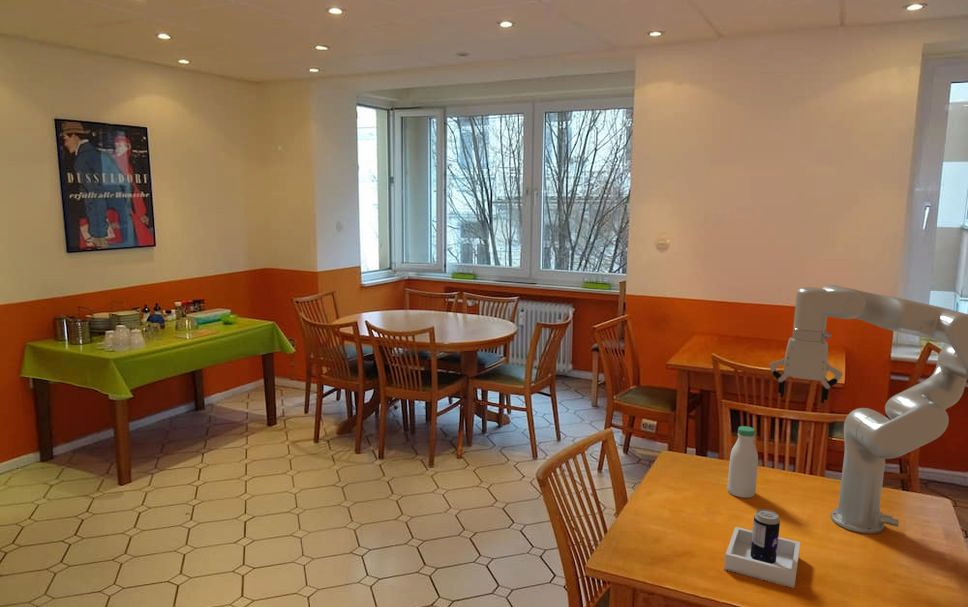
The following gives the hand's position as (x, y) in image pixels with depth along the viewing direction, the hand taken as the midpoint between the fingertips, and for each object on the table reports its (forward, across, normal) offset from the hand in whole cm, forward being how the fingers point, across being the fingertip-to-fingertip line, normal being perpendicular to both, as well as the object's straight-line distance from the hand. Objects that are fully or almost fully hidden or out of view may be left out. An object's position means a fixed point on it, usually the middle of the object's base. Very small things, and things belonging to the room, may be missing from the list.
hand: (802, 398), depth 175 cm
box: (+34, +4, +27) cm, 44 cm away
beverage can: (+34, +4, +27) cm, 43 cm away
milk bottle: (+34, +14, -11) cm, 39 cm away
